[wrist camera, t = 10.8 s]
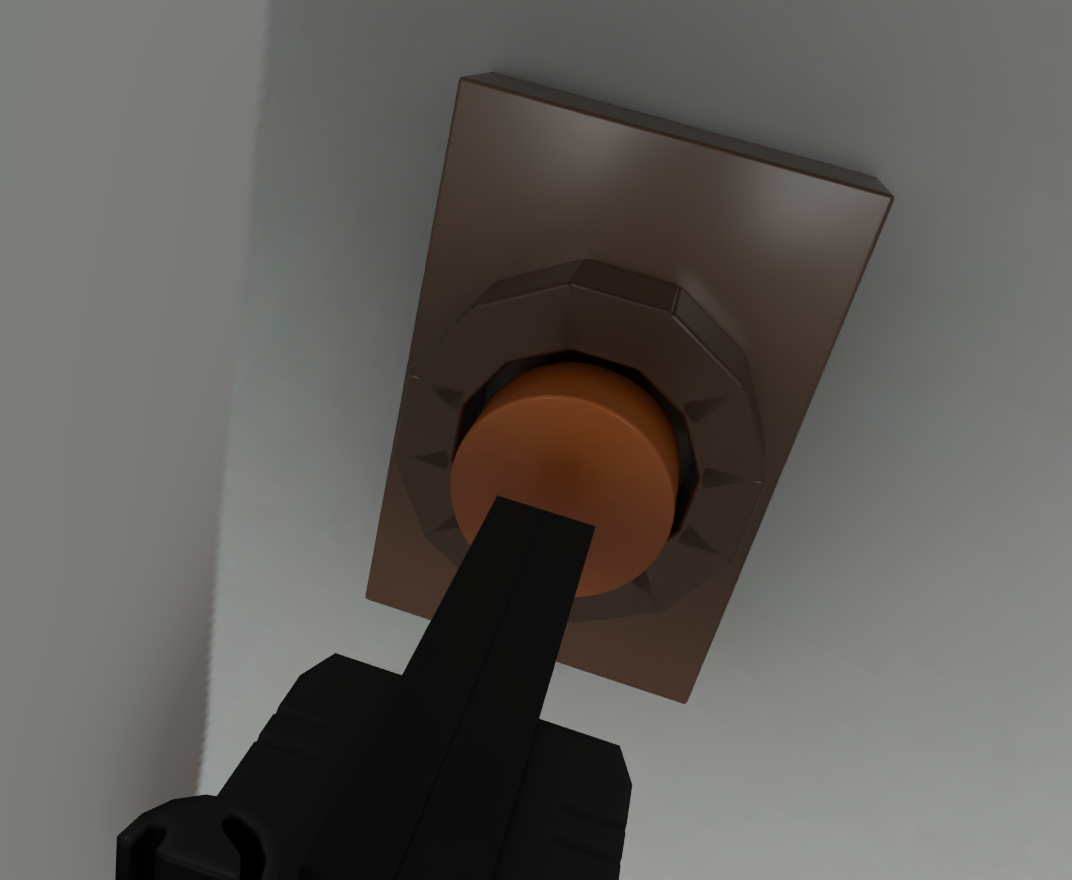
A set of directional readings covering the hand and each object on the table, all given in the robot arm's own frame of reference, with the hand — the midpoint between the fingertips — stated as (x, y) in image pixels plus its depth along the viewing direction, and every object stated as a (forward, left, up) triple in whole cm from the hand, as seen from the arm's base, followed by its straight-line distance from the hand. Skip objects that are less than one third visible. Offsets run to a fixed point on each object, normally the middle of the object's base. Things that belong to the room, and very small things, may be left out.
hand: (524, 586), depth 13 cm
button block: (0, 0, -8) cm, 8 cm away
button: (0, 0, -4) cm, 4 cm away
